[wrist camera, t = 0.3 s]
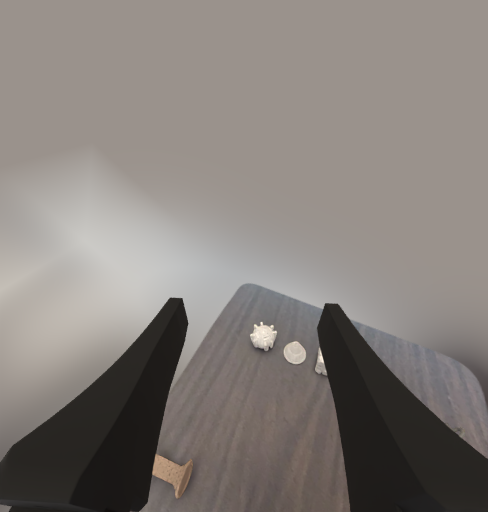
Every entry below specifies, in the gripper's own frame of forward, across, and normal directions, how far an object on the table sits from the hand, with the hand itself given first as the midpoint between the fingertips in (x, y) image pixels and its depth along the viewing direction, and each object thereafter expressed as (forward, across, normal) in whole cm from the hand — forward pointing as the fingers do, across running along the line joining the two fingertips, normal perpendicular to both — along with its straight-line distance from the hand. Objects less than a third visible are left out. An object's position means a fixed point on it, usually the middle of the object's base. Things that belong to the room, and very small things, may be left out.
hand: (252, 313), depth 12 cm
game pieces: (+9, -6, +20) cm, 23 cm away
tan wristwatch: (-3, +8, +22) cm, 23 cm away
